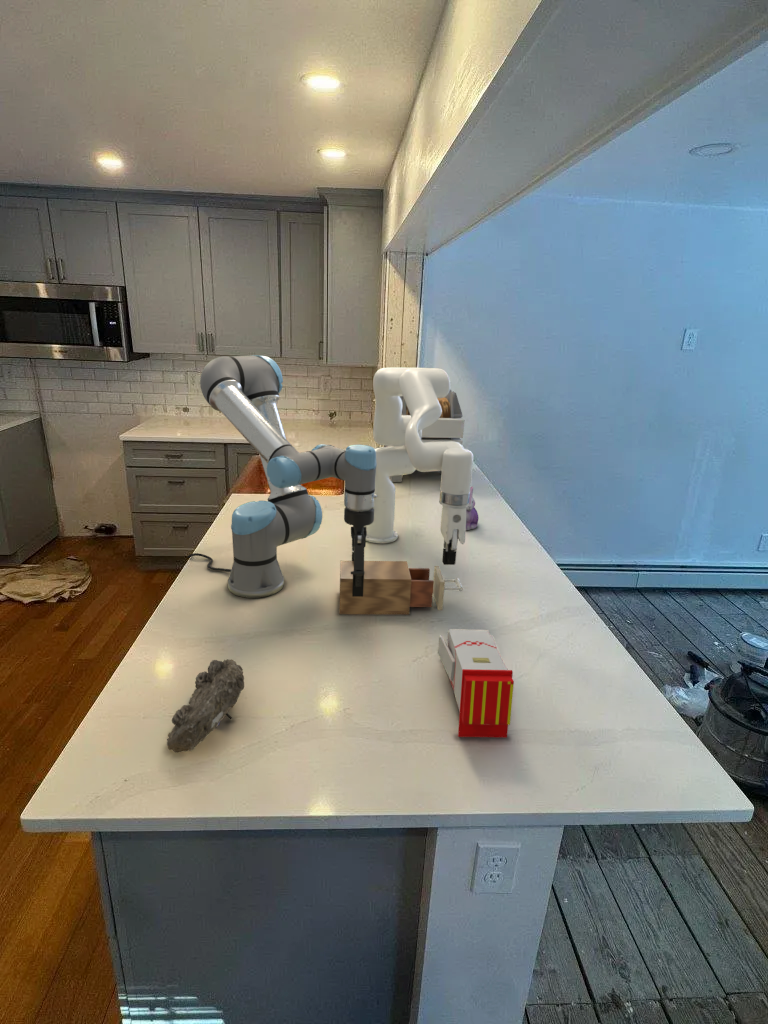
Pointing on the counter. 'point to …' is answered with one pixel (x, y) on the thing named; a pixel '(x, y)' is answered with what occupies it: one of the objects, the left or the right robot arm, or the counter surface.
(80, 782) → the counter surface
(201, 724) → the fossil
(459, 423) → the grey storage bin
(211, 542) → the counter surface
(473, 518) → the figurine
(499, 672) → the toy
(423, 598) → the drawer
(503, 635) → the counter surface
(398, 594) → the cabinet
